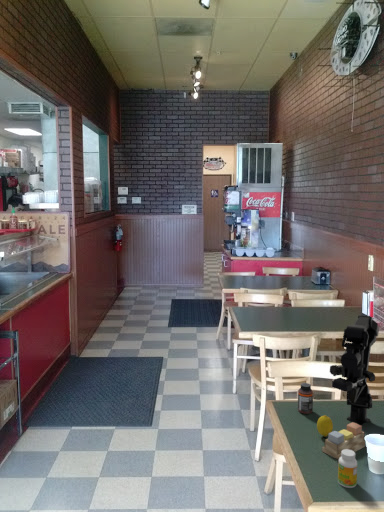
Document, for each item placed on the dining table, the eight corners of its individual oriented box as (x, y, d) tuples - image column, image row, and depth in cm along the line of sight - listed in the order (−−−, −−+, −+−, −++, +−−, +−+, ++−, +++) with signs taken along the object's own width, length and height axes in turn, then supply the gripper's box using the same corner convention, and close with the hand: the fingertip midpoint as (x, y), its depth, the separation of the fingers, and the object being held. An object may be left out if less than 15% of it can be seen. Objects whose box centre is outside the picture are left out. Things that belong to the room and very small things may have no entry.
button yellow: (343, 440, 164) (343, 429, 163) (352, 444, 161) (352, 433, 160) (337, 443, 161) (337, 432, 161) (346, 447, 159) (346, 436, 158)
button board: (349, 437, 169) (349, 425, 168) (366, 445, 163) (367, 433, 163) (322, 451, 159) (322, 438, 159) (339, 460, 154) (340, 447, 153)
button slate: (334, 441, 160) (334, 430, 160) (343, 445, 157) (344, 434, 157) (328, 444, 158) (328, 433, 158) (337, 449, 155) (337, 437, 155)
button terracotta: (352, 432, 167) (352, 422, 166) (361, 436, 164) (361, 425, 163) (346, 435, 164) (346, 424, 164) (355, 439, 162) (355, 428, 161)
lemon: (329, 432, 172) (330, 412, 172) (334, 440, 167) (335, 418, 166) (314, 433, 172) (315, 412, 171) (319, 440, 167) (319, 419, 166)
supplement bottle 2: (334, 483, 141) (335, 452, 140) (343, 475, 145) (344, 446, 144) (351, 490, 137) (352, 459, 136) (359, 483, 141) (361, 452, 140)
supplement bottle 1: (300, 407, 195) (300, 380, 194) (314, 410, 192) (315, 383, 191) (295, 412, 190) (296, 385, 189) (310, 415, 187) (310, 388, 186)
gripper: (350, 350, 181) (348, 389, 182) (319, 360, 169) (318, 401, 171) (376, 358, 172) (374, 399, 173) (346, 368, 160) (345, 412, 162)
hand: (353, 402), depth 170 cm, fingers closed
